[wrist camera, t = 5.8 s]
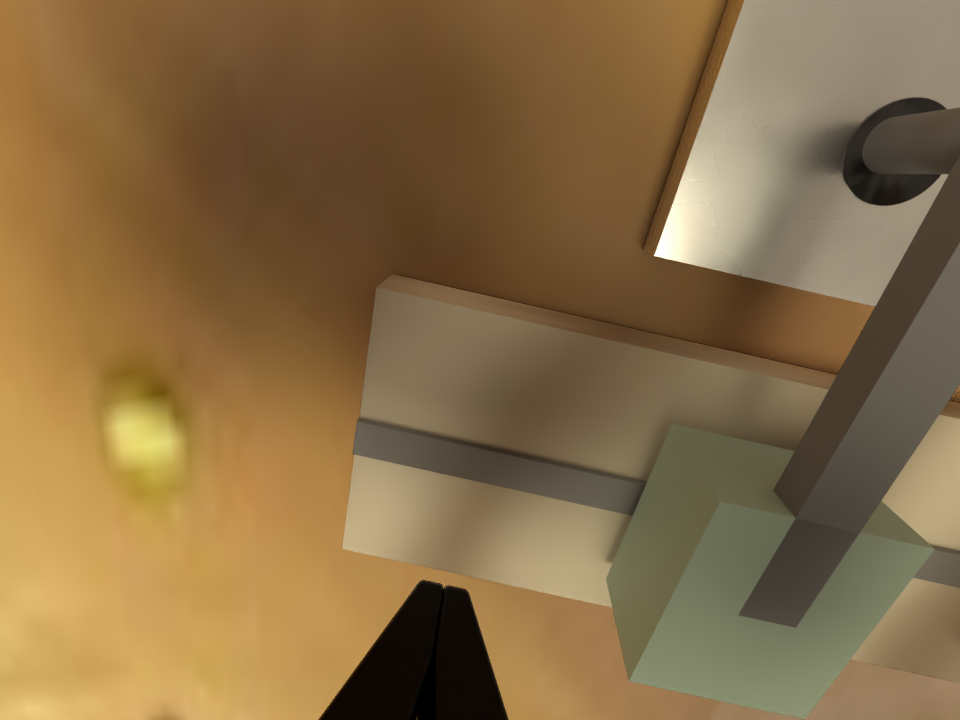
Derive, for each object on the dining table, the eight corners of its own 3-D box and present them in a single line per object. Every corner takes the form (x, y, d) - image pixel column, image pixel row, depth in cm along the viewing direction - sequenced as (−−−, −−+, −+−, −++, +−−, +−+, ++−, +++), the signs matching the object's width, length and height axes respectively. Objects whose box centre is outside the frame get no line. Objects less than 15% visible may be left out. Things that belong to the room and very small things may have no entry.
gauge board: (1480, 272, 10) (2192, 348, 6) (1067, 669, 16) (1289, 868, 11) (427, 25, 10) (358, -89, 6) (358, 514, 15) (292, 656, 11)
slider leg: (1008, 141, 9) (1258, 125, 6) (740, 597, 13) (804, 719, 10) (802, 92, 9) (948, 52, 6) (603, 567, 13) (628, 681, 10)
